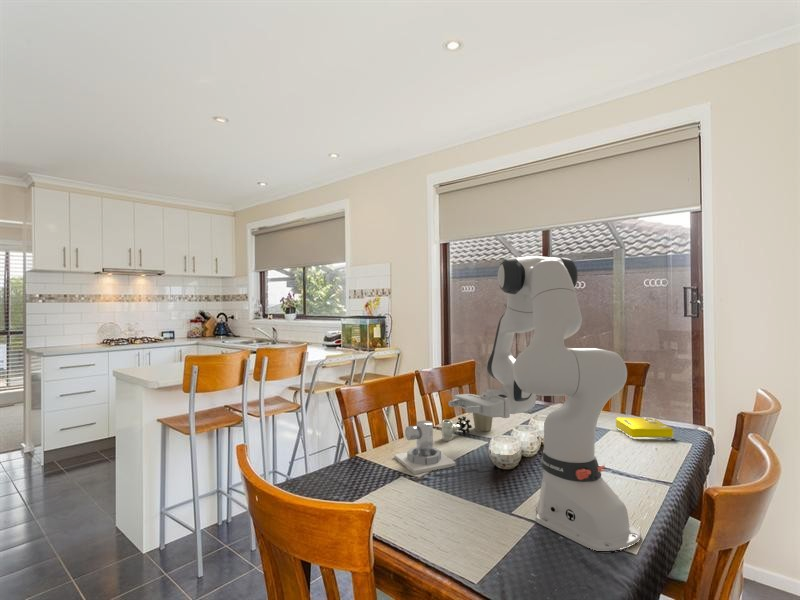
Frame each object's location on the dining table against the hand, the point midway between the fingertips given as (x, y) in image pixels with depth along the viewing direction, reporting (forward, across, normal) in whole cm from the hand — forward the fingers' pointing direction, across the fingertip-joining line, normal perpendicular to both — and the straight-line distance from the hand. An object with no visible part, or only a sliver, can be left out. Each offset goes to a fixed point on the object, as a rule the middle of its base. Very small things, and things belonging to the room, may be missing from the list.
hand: (457, 406), depth 138 cm
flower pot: (-24, -20, +15) cm, 35 cm away
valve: (-10, -17, +15) cm, 25 cm away
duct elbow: (+13, -1, +15) cm, 20 cm away
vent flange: (+12, -1, +16) cm, 20 cm away
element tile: (-75, +10, +16) cm, 78 cm away
